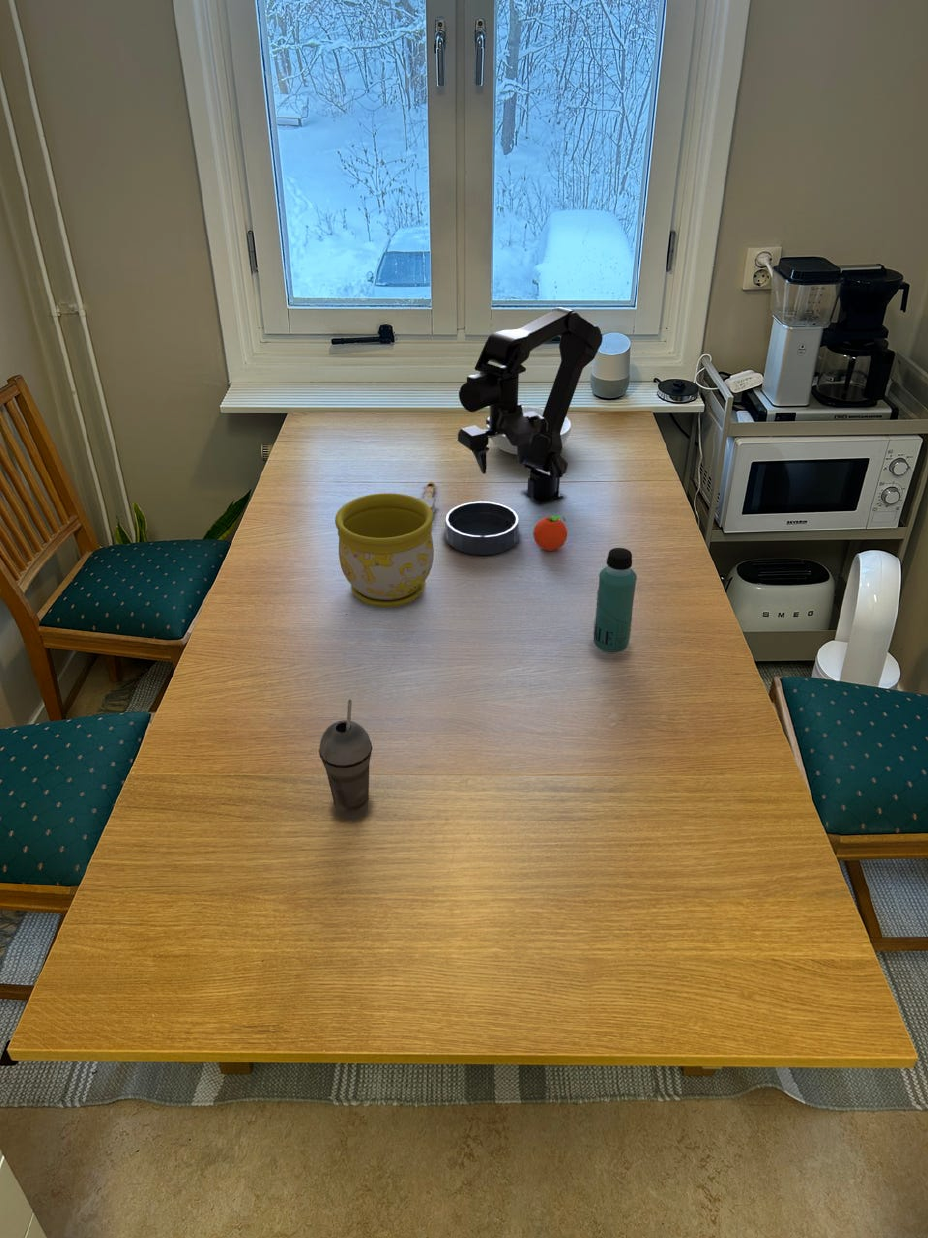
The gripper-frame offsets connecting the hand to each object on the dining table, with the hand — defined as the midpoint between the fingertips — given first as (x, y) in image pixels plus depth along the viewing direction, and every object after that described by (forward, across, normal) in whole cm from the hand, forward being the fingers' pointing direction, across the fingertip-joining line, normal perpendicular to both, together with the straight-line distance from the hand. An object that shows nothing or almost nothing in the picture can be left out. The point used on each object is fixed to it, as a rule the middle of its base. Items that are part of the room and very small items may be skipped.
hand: (502, 468), depth 194 cm
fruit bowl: (+12, -8, -5) cm, 15 cm away
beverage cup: (+12, -64, -61) cm, 89 cm away
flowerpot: (+12, -34, -13) cm, 38 cm away
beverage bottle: (+12, -9, -50) cm, 52 cm away
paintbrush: (+12, -12, +12) cm, 21 cm away
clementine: (+12, +2, -16) cm, 20 cm away
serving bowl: (+12, +25, +27) cm, 39 cm away
